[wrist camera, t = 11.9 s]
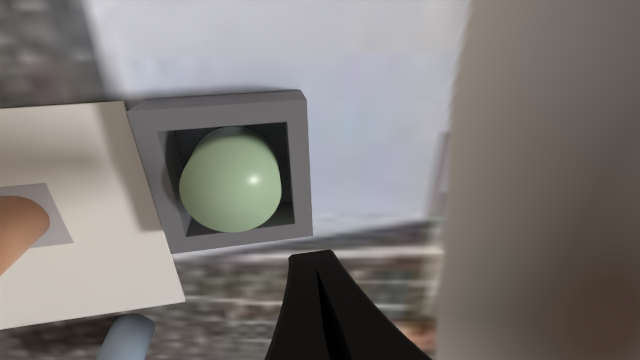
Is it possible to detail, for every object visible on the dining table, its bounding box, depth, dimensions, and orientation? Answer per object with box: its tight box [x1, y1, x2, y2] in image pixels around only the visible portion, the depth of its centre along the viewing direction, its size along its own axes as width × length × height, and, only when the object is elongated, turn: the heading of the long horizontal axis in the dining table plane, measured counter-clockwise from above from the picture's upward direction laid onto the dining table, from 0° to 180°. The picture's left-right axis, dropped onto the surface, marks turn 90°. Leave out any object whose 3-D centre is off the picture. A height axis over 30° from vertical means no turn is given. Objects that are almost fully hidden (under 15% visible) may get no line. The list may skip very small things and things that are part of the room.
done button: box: [179, 126, 281, 233], centre depth 17 cm, size 5×5×3 cm
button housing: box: [127, 90, 313, 254], centre depth 17 cm, size 8×8×2 cm
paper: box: [0, 101, 185, 329], centre depth 18 cm, size 14×12×1 cm
